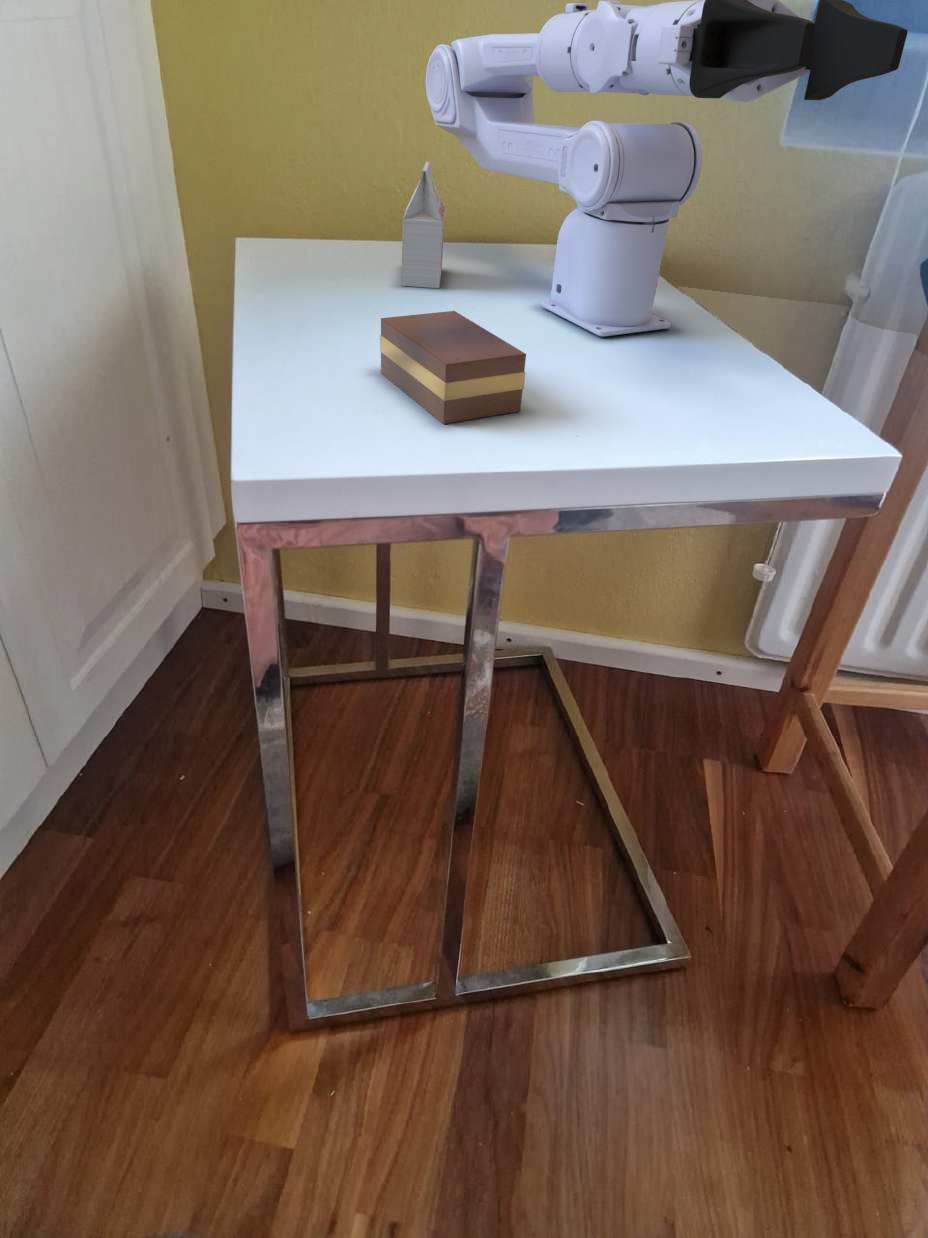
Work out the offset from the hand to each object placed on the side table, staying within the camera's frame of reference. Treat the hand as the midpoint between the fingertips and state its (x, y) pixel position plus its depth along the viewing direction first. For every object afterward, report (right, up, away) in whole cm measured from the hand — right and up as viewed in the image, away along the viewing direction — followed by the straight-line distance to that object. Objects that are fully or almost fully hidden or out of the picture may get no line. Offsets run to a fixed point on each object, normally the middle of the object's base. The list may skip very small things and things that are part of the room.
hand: (854, 47), depth 49 cm
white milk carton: (-27, 0, +35) cm, 44 cm away
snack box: (-24, -18, +10) cm, 32 cm away
